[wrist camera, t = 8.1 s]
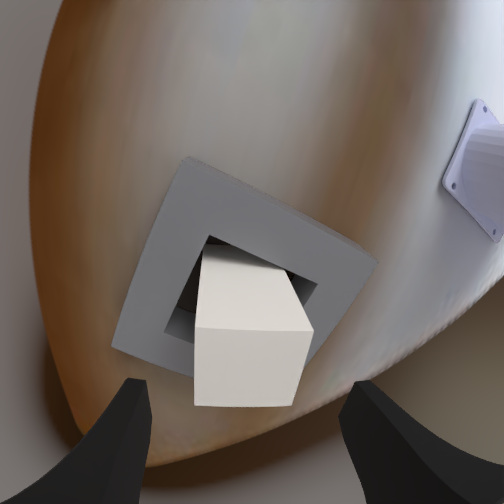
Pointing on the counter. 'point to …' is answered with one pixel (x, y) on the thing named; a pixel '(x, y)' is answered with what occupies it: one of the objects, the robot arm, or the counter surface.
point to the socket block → (244, 237)
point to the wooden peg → (247, 332)
